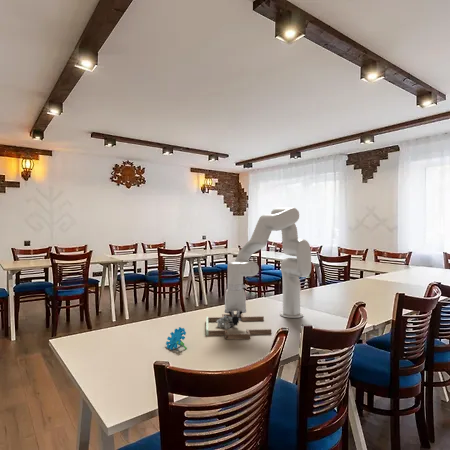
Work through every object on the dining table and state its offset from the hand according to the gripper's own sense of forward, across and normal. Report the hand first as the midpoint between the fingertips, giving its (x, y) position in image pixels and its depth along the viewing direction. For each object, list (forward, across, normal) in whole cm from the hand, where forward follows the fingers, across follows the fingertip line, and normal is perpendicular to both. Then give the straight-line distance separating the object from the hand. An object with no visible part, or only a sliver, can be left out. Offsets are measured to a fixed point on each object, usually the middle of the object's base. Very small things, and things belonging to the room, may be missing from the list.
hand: (235, 324), depth 165 cm
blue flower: (+2, +27, +25) cm, 36 cm away
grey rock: (+2, +4, -4) cm, 6 cm away
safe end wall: (+1, +14, 0) cm, 14 cm away
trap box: (+1, -1, 0) cm, 2 cm away
